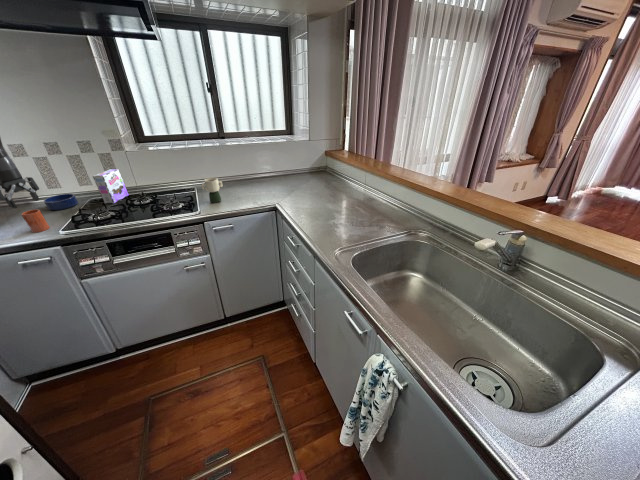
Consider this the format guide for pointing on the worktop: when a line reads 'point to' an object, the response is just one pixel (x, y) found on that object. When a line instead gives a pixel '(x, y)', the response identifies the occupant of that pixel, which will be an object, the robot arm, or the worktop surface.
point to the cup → (35, 220)
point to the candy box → (111, 185)
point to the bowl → (60, 202)
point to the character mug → (213, 188)
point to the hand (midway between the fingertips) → (25, 204)
